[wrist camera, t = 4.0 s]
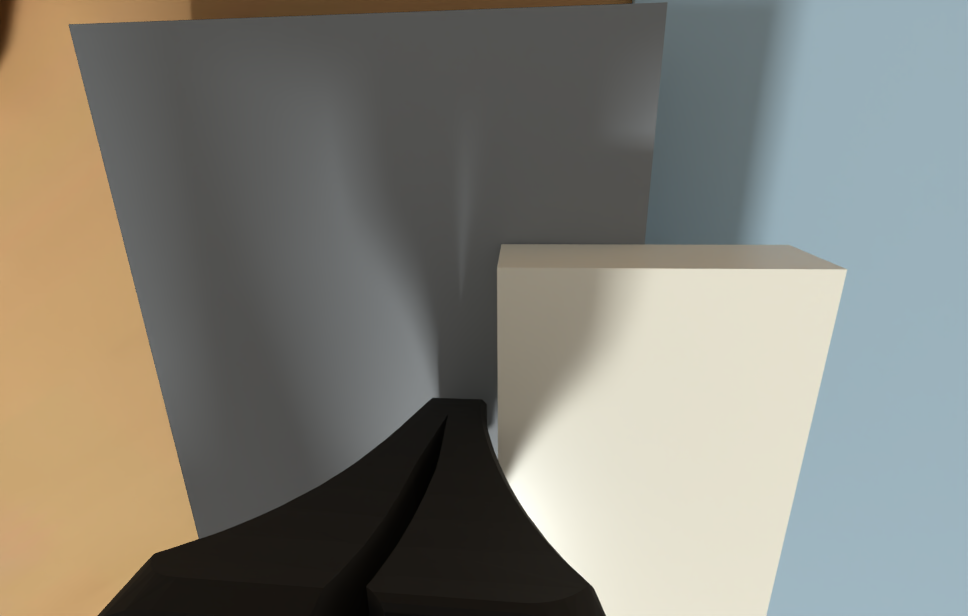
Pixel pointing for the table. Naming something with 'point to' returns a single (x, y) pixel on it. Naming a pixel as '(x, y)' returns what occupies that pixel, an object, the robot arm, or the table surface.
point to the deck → (353, 212)
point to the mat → (844, 264)
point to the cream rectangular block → (662, 411)
